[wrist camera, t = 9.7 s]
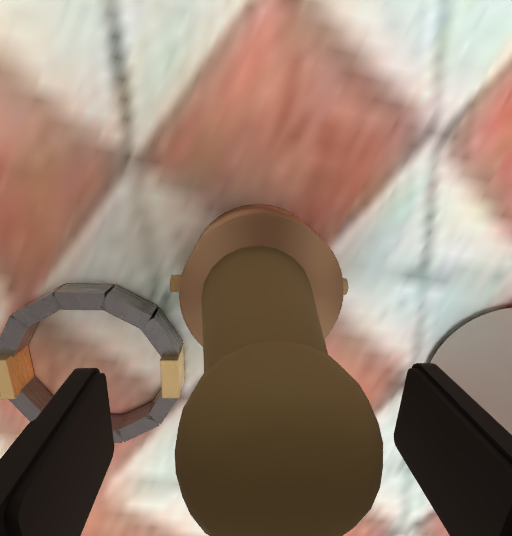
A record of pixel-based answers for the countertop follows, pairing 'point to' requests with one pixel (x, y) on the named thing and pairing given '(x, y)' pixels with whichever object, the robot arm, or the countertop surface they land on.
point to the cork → (273, 411)
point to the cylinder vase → (482, 362)
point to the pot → (269, 235)
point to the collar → (91, 298)
